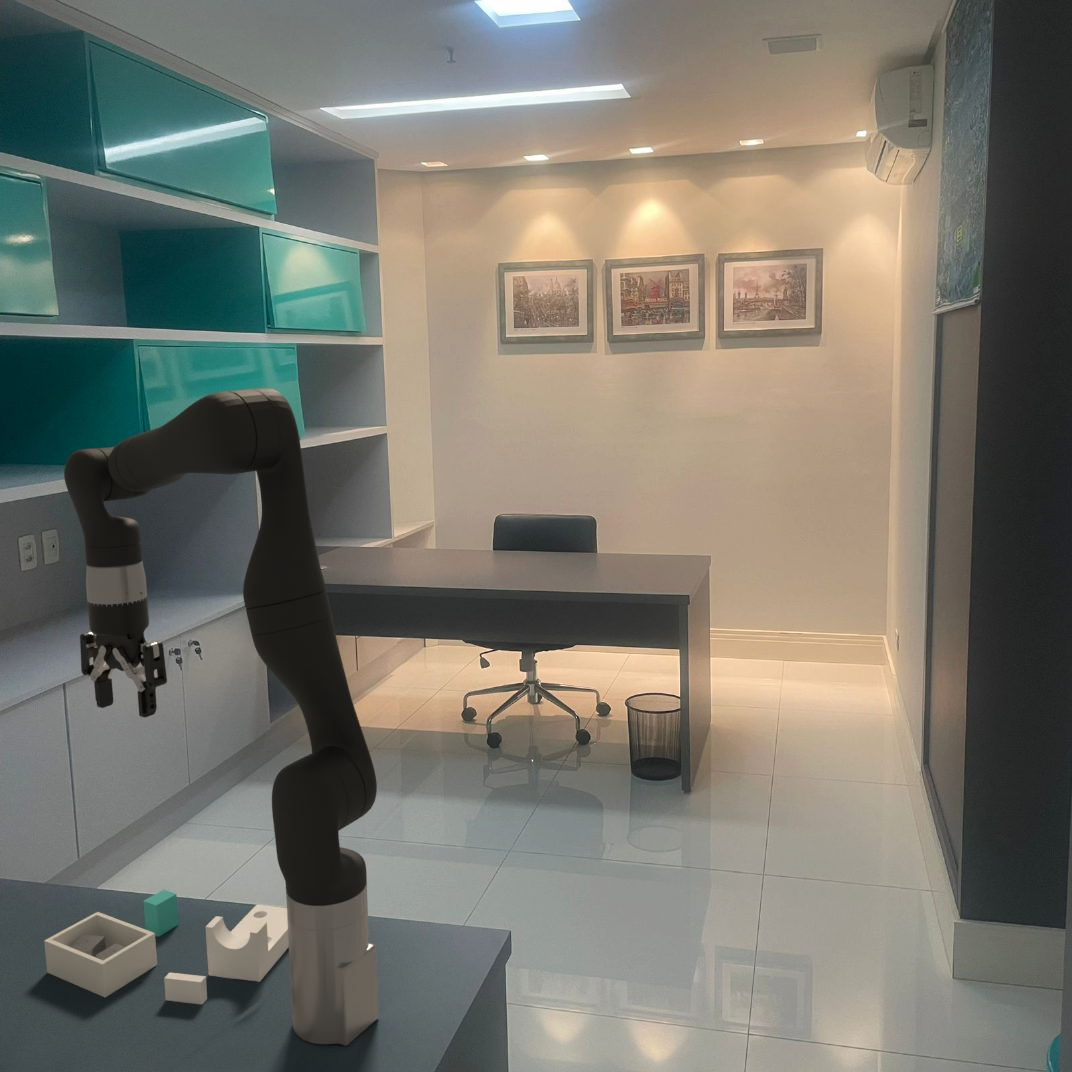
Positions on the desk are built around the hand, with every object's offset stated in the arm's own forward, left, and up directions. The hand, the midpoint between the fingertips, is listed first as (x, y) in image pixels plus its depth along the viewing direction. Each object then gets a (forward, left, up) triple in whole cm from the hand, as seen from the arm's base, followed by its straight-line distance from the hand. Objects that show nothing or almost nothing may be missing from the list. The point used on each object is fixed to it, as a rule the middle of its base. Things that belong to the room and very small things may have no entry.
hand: (126, 710), depth 144 cm
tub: (-8, +12, -30) cm, 33 cm away
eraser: (-22, +12, -30) cm, 39 cm away
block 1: (-5, +12, -30) cm, 32 cm away
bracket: (-22, 0, -31) cm, 38 cm away
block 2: (-10, +12, -30) cm, 34 cm away
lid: (-2, +2, -30) cm, 31 cm away
